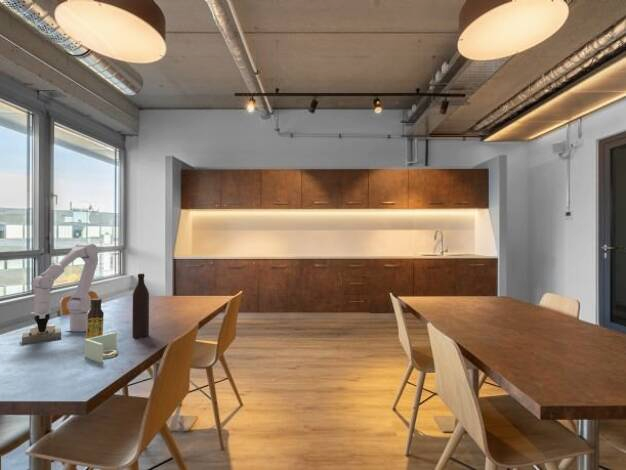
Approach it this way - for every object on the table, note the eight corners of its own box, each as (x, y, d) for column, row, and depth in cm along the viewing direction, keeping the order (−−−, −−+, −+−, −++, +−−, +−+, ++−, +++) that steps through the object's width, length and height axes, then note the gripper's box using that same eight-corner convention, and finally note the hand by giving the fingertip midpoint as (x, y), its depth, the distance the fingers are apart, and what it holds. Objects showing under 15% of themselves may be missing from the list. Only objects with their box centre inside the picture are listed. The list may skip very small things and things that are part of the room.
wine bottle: (151, 336, 163) (151, 273, 164) (135, 339, 158) (136, 274, 158) (145, 333, 168) (145, 272, 168) (130, 336, 163) (130, 273, 163)
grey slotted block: (60, 334, 165) (60, 328, 165) (61, 338, 159) (61, 332, 159) (22, 339, 156) (22, 333, 156) (21, 344, 150) (21, 337, 150)
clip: (54, 333, 162) (54, 324, 162) (54, 335, 159) (55, 325, 160) (30, 337, 156) (30, 327, 156) (29, 338, 154) (30, 328, 154)
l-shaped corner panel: (100, 364, 129) (100, 344, 129) (84, 358, 135) (84, 339, 135) (131, 354, 139) (131, 336, 139) (115, 349, 146) (115, 332, 146)
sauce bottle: (85, 346, 148) (85, 300, 148) (86, 342, 153) (87, 298, 153) (102, 344, 151) (103, 299, 151) (103, 340, 156) (104, 297, 156)
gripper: (31, 300, 161) (31, 329, 161) (30, 305, 150) (30, 336, 150) (50, 298, 165) (50, 326, 165) (51, 303, 154) (50, 333, 154)
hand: (42, 331), depth 158 cm, fingers closed on clip, 3 cm apart
